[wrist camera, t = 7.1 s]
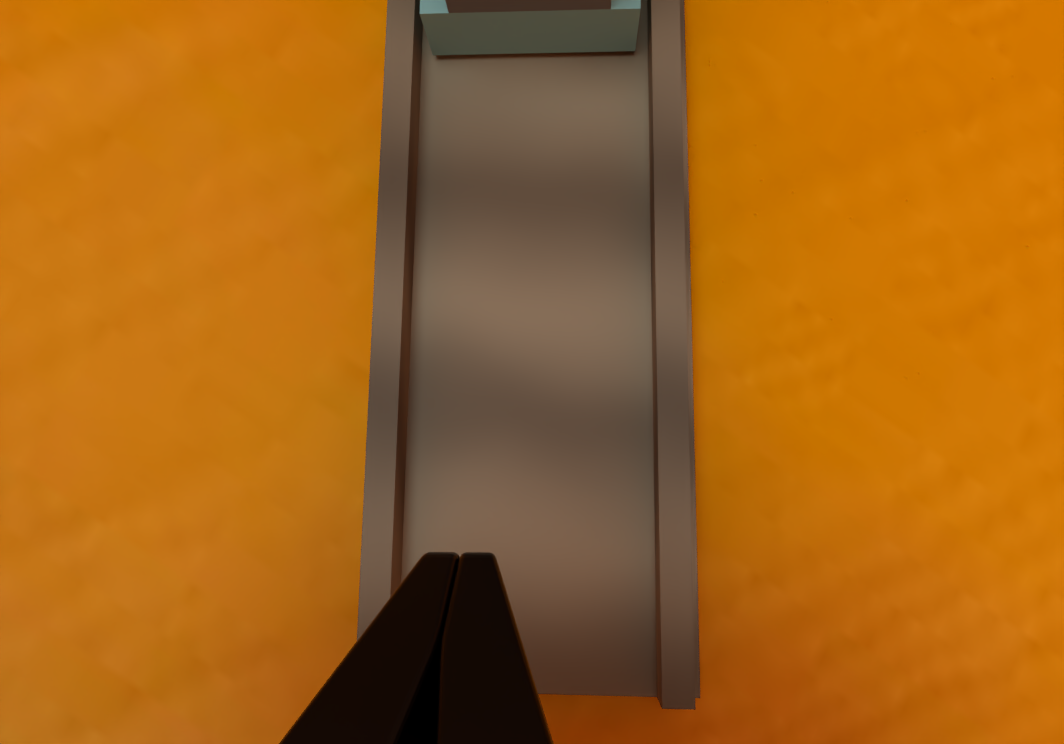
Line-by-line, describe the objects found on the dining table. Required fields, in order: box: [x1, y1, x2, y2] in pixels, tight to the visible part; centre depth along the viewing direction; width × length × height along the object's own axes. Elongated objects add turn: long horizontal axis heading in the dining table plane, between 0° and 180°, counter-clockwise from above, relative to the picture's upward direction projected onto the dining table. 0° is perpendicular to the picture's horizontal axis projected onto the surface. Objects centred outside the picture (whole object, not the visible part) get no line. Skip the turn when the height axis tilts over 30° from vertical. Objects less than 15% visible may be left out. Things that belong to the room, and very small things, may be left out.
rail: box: [357, 0, 700, 709], centre depth 21 cm, size 26×9×6 cm, turn 179°
